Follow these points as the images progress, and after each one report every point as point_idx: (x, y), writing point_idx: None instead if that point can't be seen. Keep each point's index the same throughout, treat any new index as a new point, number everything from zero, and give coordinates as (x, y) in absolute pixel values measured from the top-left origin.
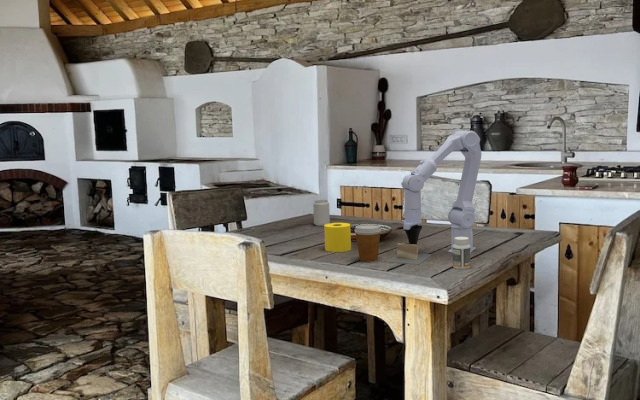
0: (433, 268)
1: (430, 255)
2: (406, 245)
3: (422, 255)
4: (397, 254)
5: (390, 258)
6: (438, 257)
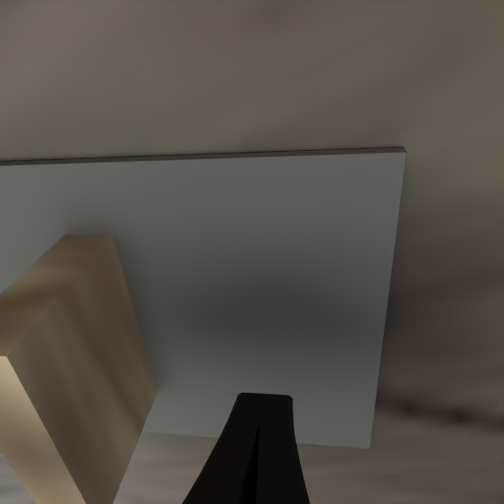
0: (19, 479)
1: (318, 443)
2: (6, 446)
3: (294, 397)
4: (40, 260)
5: (5, 169)
6: (311, 474)
